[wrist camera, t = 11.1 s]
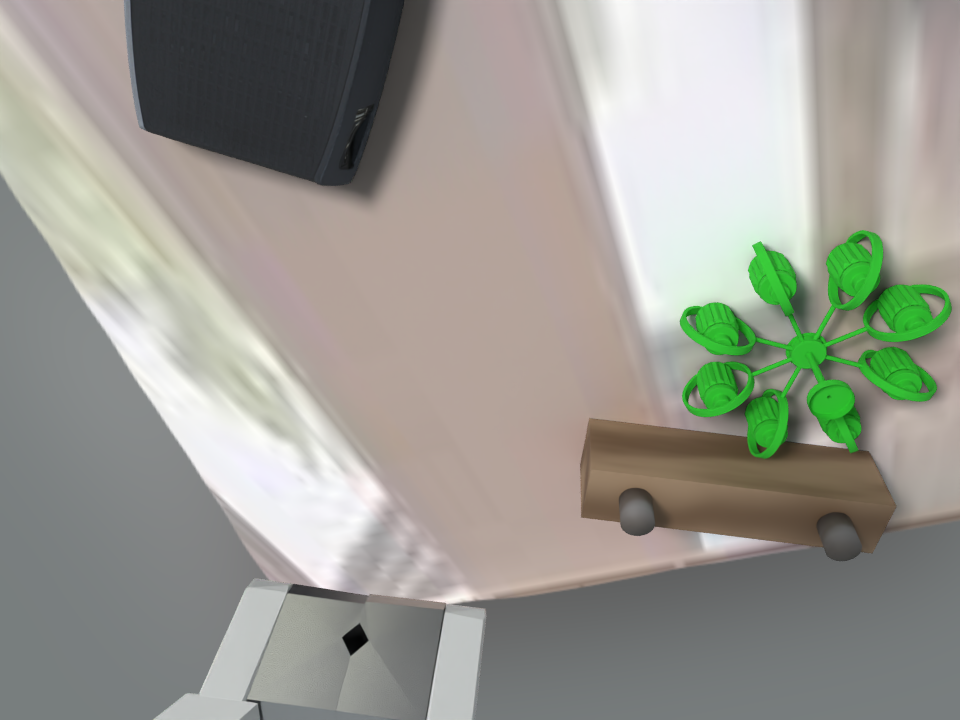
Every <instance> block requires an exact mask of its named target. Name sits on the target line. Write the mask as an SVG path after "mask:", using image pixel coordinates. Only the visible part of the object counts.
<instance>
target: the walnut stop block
mask: <svg viewBox="0 0 960 720" xmlns="http://www.w3.org/2000/svg"><path fill="white" fill-rule="evenodd" d="M756 445H757V449H758V451H759V453H762V452H764V451H765V450H766V449H767V448H766V447H762V446H760V445H759V444H758V443H757V442H756ZM580 471H581V517H582V518H590V519H598V520H607V521H615V522H620V524H621V528H622V529H623V531H625V532H626V533H628V534H630V535H634V536H641V535H645V534H648V533H649V532H651V531H652V530H653V528H654V526H655V527H663V528H671V529H679V530H687V531H695V532H704V533H712V534H720V535H728V536H736V537H744V538H752V539H760V540H768V541H776V542H784V543H792V544H801V545H809V546H817V547H824V549H825V552H826V554H827V556H828V557H829V558H831V559H833V560H836V561H847V560H850V559H853V558H855V557H856V556H857V555H859V554H860V552H865V553H873V551H874V549H875V547H876V545H877V543H878V541H879V539H880V537H881V536H882V534H883V532H884V530H885V528H886V526H887V524H888V522H889V520H890V518H891V516H892V514H893V512H894V510H895V508H896V504H895V502H894V500H893V498H892V496H891V494H890V492H889V490H888V488H887V486H886V484H885V482H884V480H883V479H882V477H881V475H880V473H879V471H878V469H877V467H876V465H875V463H874V461H873V459H872V457H871V455H870V453H869V452H868V451H860V450H859V451H856V452H853V453H850V452H849V449H843V448H834V447H826V446H817V445H809V444H801V443H792V442H784V443H783V444H781V445H780V446H779V447H778V449H777V450H776V452H775V453H774V454H773V455H772V456H771V457H769V458H767V459H763V458H758V457H755V456H753V455H752V454H751V452H750V450H749V447H748V440H747V437H742V436H733V435H725V434H716V433H708V432H700V431H691V430H683V429H674V428H666V427H657V426H649V425H641V424H632V423H624V422H615V421H607V420H598V419H590V418H589V423H588V428H587V433H586V439H585V444H584V449H583V454H582V459H581V464H580Z"/></svg>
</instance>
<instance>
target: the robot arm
mask: <svg viewBox="0 0 960 720" xmlns="http://www.w3.org/2000/svg"><path fill="white" fill-rule="evenodd" d="M485 623H486V609H482V608H474V607H466V606H457V605H449V604H447V606H446V603H442V602H433V601H424V600H416V599H407V598H399V597H390V596H381V595H373V594H370V595H369V596H367V595H361V594H354V593H348V592H342V591H335V590H329V589H323V588H316V587H310V586H304V585H297V584H291V583H284V582H277V581H269V580H262V579H254V580H253V581H252V582H251V583H250V584H249V586H248V587H247V588H246V589H245V592H244V594H243V596H242V598H241V601H240V603H239V605H238V607H237V610H236V612H235V614H234V616H233V619H232V621H231V623H230V625H229V628H228V630H227V632H226V634H225V637H224V639H223V641H222V643H221V646H220V648H219V650H218V652H217V655H216V657H215V659H214V661H213V664H212V666H211V668H210V670H209V673H208V675H207V677H206V679H205V682H204V684H203V686H202V689H201V691H200V693H199V694H189V693H186V694H185V695H184V696H183V697H181V698H180V699H179V700H177V701H176V702H175V703H174V704H172V705H171V706H170V707H169V708H167V709H166V710H165V711H163V712H162V713H161V714H160V715H158V716H157V717H156V718H155V719H153V720H475V714H476V705H477V696H478V687H479V678H480V668H481V659H482V650H483V641H484V632H485Z"/></svg>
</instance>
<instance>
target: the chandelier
mask: <svg viewBox="0 0 960 720" xmlns="http://www.w3.org/2000/svg"><path fill="white" fill-rule="evenodd" d="M867 236H868V237H869V239H870V241H871V245H872V256H871V255H870V253H869V252H868V251H867V250H866V249H864V248H863V246H862V245H860V244H856V243H857V242H858V241H860V240H861V239H862V238H864V237H867ZM752 246H753V248H754V250H755V253H756V255H757V256H756V257H755V258H754V259H753V260H752V261H751V263H750V266H749V269H748V271H749V278H750V280H751V282H752V285H753V287H754V289H755V292H756V293H757V294H758V295H760V298H762V299H763V300H764V301H765V302H767V303H769V304H773V305H778V304H780V306H781V308H782V310H783V312H784V314H785V316H788V317H789V319H790V321H791V323H792V326H793V328H794V330H795V332H796V334H797V336H796V337H795V338H793V339H792V340H791V341H790V342H789V344H788V345H785V344H781V343H777V342H773V341H769V340H765V339H761V338H757V337H755V334H754V332H753V331H752V330H751V328H750V327H749V326H748V325H746V324H745V323H744V322H743V321H741V320H740V319H738V318H737V317H735V316H734V314H733V312H732V311H731V310H730V308H729V307H728V306H726V305H725V304H722V303H718V302H717V303H716V302H715V303H709V304H707V305H705V306H703V307H700V306H692V307H689V308H687V309H686V310H685V311H684V312H683V314H682V317H681V319H680V325H681V327H682V329H683V331H684V332H685V333H686V334H687V335H688V336H689V337H690V338H691V339H693V340H694V341H695V342H697V343H698V344H700V345H702V346H704V347H705V348H706V349H707V350H708V351H709V352H710V353H712V354H716V355H723V354H727V355H744V354H747V353H749V352H750V351H751V349H752V348H753V346H754V344H755V342H759V343H763V344H767V345H771V346H775V347H779V348H783V349H786V356H787V359H785V360H782V361H780V362H777V363H775V364H772V365H770V366H767V367H765V368H762V369H760V370H757V371H755V372H752V373H751V371H750V369H749V368H748V367H747V366H746V365H744V364H742V363H738V362H726V363H721V362H710V363H708V364H705V365H704V366H703V367H702V368H701V369H700V370H699V371H698V373H697V375H695V376H694V377H693V378H692V379H691V380H690V381H689V382H688V383H687V385H686V386H685V388H684V390H683V394H682V399H683V402H684V404H685V406H686V408H687V409H688V410H689V412H691V413H692V414H694V415H696V416H700V417H713V416H718V415H721V414H724V413H727V412H729V411H731V410H733V409H735V408H736V407H738V406H739V405H741V404H742V403H743V402H744V401H745V400H746V399H747V398H748V397H749V395H750V394H751V392H752V390H753V388H754V383H755V382H754V376H756V375H759V374H761V373H764V372H766V371H769V370H771V369H774V368H776V367H779V366H781V365H784V364H786V363H789V362H791V363H793V364H795V365H796V366H797V368H796V369H795V371H794V373H793V375H792V376H791V378H790V380H789V382H788V384H787V385H786V387H785V389H784V391H783V392H781V391H778V390H774V389H768V390H766V391H765V392H764V393H763V395H762V397H759V398H756V399H754V400H752V401H751V402H750V403H749V404H748V406H747V407H746V411H745V416H746V419H747V422H748V434H747V440H748V447H749V450H750V452H751V454H752V455H753V456H755V457H758V458H763V459H767V458H769V457H771V456H772V455H773V454H774V453H775V452H776V450H777V449H778V447H779V446H780V445H781V444H783V443H784V442H785V441H786V439H787V436H788V432H787V429H788V425H787V422H788V402H787V398H786V394H787V392H788V391H789V389H790V387H791V385H792V384H793V382H794V380H795V378H796V377H797V375H798V373H799V371H800V370H801V368H803V369H809V368H811V369H812V371H813V373H814V375H815V377H816V379H817V381H818V384H817V385H815V386H814V387H813V388H812V389H811V390H810V392H809V393H808V396H807V404H808V407H809V409H810V411H811V413H812V414H813V415H814V416H816V417H817V419H818V421H819V423H820V425H821V428H822V430H823V431H824V432H825V433H826V434H827V435H828V436H829V438H830V439H831V440H832V441H834V442H837V443H846V445H847V447H848V449H849V452H850V453H853V452H856V451H859V450H858V448H857V445H856V443H855V441H854V440H855V439H856V438H857V437H858V436H859V435H860V433H861V425H860V424H861V423H860V416H859V414H858V412H857V410H856V408H855V406H854V402H855V396H854V394H853V392H852V390H851V388H850V387H849V385H848V384H846V383H845V382H843V381H840V380H826V381H825V379H824V377H823V375H822V373H821V371H820V369H819V366H818V365H819V364H821V363H822V362H823V361H824V359H827V360H831V361H835V362H839V363H843V364H847V365H851V366H855V367H859V369H860V370H861V372H862V373H863V374H864V375H865V377H867V378H868V379H869V380H870V381H871V382H872V383H874V384H875V385H877V386H878V387H880V388H881V389H882V390H883V392H885V393H887V394H888V395H889V396H890V397H891V398H893V399H896V400H905V399H907V400H911V401H919V402H922V401H927V400H929V399H931V397H932V396H933V395H934V393H935V392H936V390H937V386H936V383H935V381H934V380H933V378H932V377H931V376H930V375H929V374H928V373H927V372H926V371H924V370H923V369H922V368H920V367H919V366H917V365H916V364H914V363H913V361H912V360H911V358H910V357H909V355H908V354H907V352H906V351H904V350H902V349H900V348H896V347H887V348H883V349H881V350H879V351H874V350H867V351H865V352H864V353H863V354H862V356H861V357H860V359H859V361H858V363H857V362H853V361H849V360H845V359H841V358H837V357H833V356H829V355H826V354H827V347H828V346H831V345H833V344H836V343H838V342H841V341H843V340H846V339H848V338H851V337H853V336H855V335H858V334H860V333H863V332H865V331H867V332H868V333H869V334H870V335H871V336H872V337H874V338H876V339H878V340H881V341H887V342H901V341H908V340H912V339H916V338H919V337H922V336H924V335H926V334H928V333H930V332H932V331H934V330H936V329H937V328H938V327H940V326H941V325H942V324H943V323H944V322H945V321H946V320H947V319H948V317H949V315H950V313H951V309H952V306H951V302H950V299H949V297H948V295H947V293H946V292H945V291H944V290H942V289H941V288H938V287H936V286H932V285H911V286H908V285H896V286H895V285H894V286H892V287H890V288H888V289H886V290H885V291H884V292H883V293H882V294H881V295H880V297H879V299H877V300H875V301H873V302H872V303H871V304H870V305H869V306H868V308H867V309H866V311H865V313H864V316H863V323H864V325H865V327H863V328H861V329H859V330H856V331H854V332H851V333H849V334H846V335H844V336H841V337H839V338H836V339H834V340H831V341H829V342H826V341H825V339H824V338H823V337H822V336H820V335H821V333H822V331H823V329H824V328H825V326H826V324H827V322H828V321H829V319H830V317H831V315H832V314H833V312H834V310H835V308H838V309H842V310H846V311H849V310H853V309H855V308H857V307H858V306H859V305H861V304H862V303H863V302H864V301H865V299H866V298H867V297H868V295H869V294H870V293H871V292H873V291H874V290H875V289H876V288H877V286H878V285H879V282H880V269H881V265H882V260H883V246H882V242H881V239H880V237H879V236H878V235H877V234H875V233H872V232H868V231H864V230H862V231H858V232H856V233H854V234H853V235H852V236H850V237H849V238H848V240H847V242H846V243H844V244H841V245H838V246H839V247H838V246H837V247H836V248H834V249H833V250H832V252H831V253H830V254H829V256H828V258H827V262H826V265H827V267H828V272H829V274H830V276H829V282H828V296H829V300H830V302H831V304H832V306H831V308H830V309H829V311H828V313H827V315H826V316H825V318H824V320H823V322H822V323H821V325H820V327H819V329H818V331H817V332H816V333H804V334H801V332H800V329H799V327H798V325H797V323H796V321H795V319H794V317H793V313H794V310H793V308H792V306H791V303H790V301H789V300H790V299H791V298H792V297H793V296H794V294H795V292H796V289H797V285H796V283H797V282H796V274H795V272H794V270H793V269H792V267H791V265H790V263H789V261H788V260H787V259H786V258H785V257H784V255H783V254H781V253H778V252H776V251H767V252H766V250H765V248H764V246H763V244H762V242H761V241H760V242H758V243H756V244H754V245H752ZM845 256H846V257H845ZM847 259H848V260H847ZM849 262H850V263H849ZM857 262H859V263H857ZM854 263H855V264H854ZM851 264H853V265H851ZM850 265H851V266H850ZM846 268H847V269H846ZM845 269H846V270H845ZM777 270H781V271H777ZM844 270H845V271H844ZM842 273H843V274H842ZM765 275H766V276H765ZM764 276H765V277H764ZM763 277H764V278H763ZM762 278H763V279H762ZM838 287H839V288H841V289H842V291H844V292H846V293H847V294H848V295H850V296H853V297H854V298H853V299H852V300H851V301H849V302H848V303H846V304H844V305H842V304H841V302H840V300H839V296H838ZM889 291H890V292H889ZM919 293H927V294H933V295H937V296H939V297H941V298H942V299H944V300H945V306H944V308H943V310H942V312H941V313H940V314H939V315H938V316H937V317H936V318H935V319H933V317H932V315H931V312H930V309H929V305H928V304H927V303H926V302H925V300H924V299H923V298H922V297H921V295H920V294H919ZM892 295H893V296H892ZM709 305H710V306H709ZM910 305H911V306H910ZM900 306H901V307H900ZM908 306H909V307H908ZM710 308H711V309H710ZM903 308H904V309H903ZM877 309H879V312H880V315H881V316H882V318H883V319H884V321H885V322H886V323H887V325H888V326H889V328H890V329H891V330H893V331H895V332H896V333H884V332H879V331H876V330H874V329H873V328H871V327H870V326H869V321H870V319H871V317H872V315H873V314H874V312H875V311H876V310H877ZM901 309H903V310H901ZM900 310H901V311H900ZM899 311H900V312H899ZM898 312H899V313H898ZM897 313H898V314H897ZM694 314H697V316H696V318H695V319H696V328H697V331H698V332H697V331H696V330H695V329H694V328H693V327H692V326H691V325H690V324H689V323H688V321H687V318H686V317H687V316H689V315H694ZM714 321H715V322H714ZM718 323H719V324H718ZM724 323H726V324H724ZM714 324H715V325H714ZM712 325H713V326H712ZM710 326H711V327H710ZM709 327H710V328H709ZM738 330H740V331H741V332H742V333H743V334H744V335H745V336H746V338H747V339H748V341H749V344H748V345H746V346H737V344H738V340H739V338H738V337H739V334H738ZM887 352H888V353H887ZM881 357H882V358H881ZM867 358H872V359H871V361H870V367H869V366H868V364H867V363H866V360H865V359H867ZM711 363H712V364H711ZM894 363H895V364H894ZM896 366H897V367H896ZM731 369H735V370H741V371H744V372H745V373H747V374H748V382H747V385H746V387H745V388H744V390H743V391H742V392H741V393H740V394H739V395H738V396H737V394H738V387H737V384H736V381H735V378H734V375H733V373H732V371H731ZM889 370H890V371H889ZM922 381H923V382H924V384H925V385H926V386H927V388H928V390H929V392H927V393H918V392H919V391H920V389H921V387H922ZM716 384H718V385H716ZM696 385H697V386H698V390H699V394H700V398H701V399H702V400H703V403H704V404H705V405H706V407H707V408H708V409H698V408H694V407H692V406H690V405H689V403H688V399H689V395H690V393H691V391H692V390H693V388H694V387H695V386H696ZM713 385H714V386H713ZM710 386H712V387H710ZM774 394H775V395H776V396H777V398H778V402H779V403H778V402H777V401H775V400H774V399H772V398H770V397H771V396H772V395H774ZM762 399H763V400H762ZM756 403H757V404H756ZM757 406H758V407H757ZM758 409H759V410H758ZM759 412H760V413H759ZM767 413H768V414H767ZM756 442H757V443H758V444H759V445H760V446H762V447H766V448H767V449H766V450H765V451H764V452H762V453H759V451H758V449H757V445H756Z"/></svg>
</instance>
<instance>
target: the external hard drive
mask: <svg viewBox="0 0 960 720" xmlns="http://www.w3.org/2000/svg"><path fill="white" fill-rule="evenodd" d="M403 5H404V0H124V11H125V28H126V40H127V51H128V62H129V69H130V77H131V84H132V92H133V98H134V104H135V110H136V114H137V119H138V123H139V127H140V128H141V129H143V130H146V131H148V132H151V133H153V134H157V135H160V136H163V137H166V138H169V139H173V140H176V141H179V142H183V143H186V144H189V145H193V146H196V147H200V148H203V149H207V150H210V151H213V152H216V153H220V154H223V155H226V156H230V157H234V158H236V159H240V160H244V161H247V162H250V163H253V164H257V165H260V166H263V167H266V168H270V169H273V170H277V171H279V172H283V173H286V174H289V175H292V176H296V177H299V178H302V179H306V180H309V181H312V182H315V183H317V184H320V185H324V186H338V185H344V184H349V183H351V181H352V178H353V177H354V175H355V173H356V171H357V169H358V165H359V163H360V160H361V157H362V154H363V151H364V149H365V146H366V142H367V140H368V137H369V133H370V130H371V127H372V124H373V120H374V117H375V115H376V111H377V108H378V104H379V100H380V97H381V94H382V90H383V87H384V83H385V80H386V75H387V72H388V68H389V63H390V59H391V56H392V52H393V47H394V43H395V39H396V36H397V30H398V26H399V23H400V18H401V13H402V9H403Z"/></svg>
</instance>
